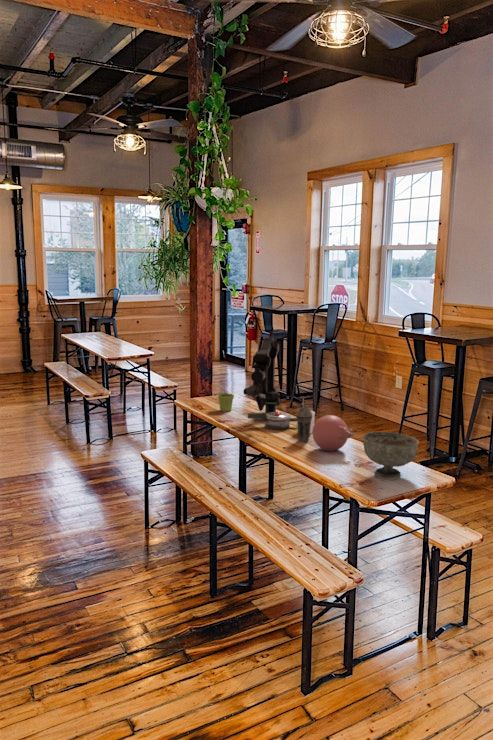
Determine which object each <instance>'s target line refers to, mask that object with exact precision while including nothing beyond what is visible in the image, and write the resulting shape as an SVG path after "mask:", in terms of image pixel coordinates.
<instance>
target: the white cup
mask: <svg viewBox="0 0 493 740" xmlns="http://www.w3.org/2000/svg"><path fill="white" fill-rule="evenodd" d="M310 411H311V413H312V420H311V425H310V433H309V435H311V434H312V431H313V427H314V424H315V417H316V412H315V411H313V410H310Z"/></svg>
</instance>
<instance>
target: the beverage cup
mask: <svg viewBox="0 0 493 740" xmlns="http://www.w3.org/2000/svg"><path fill="white" fill-rule="evenodd" d="M311 411H312V410H310V409H309V408H308V407H305V398H302V407H301V408H299V409H298V410H297V412H296V417H295V418H297V421H296V422H297V424H296V425H297V437H298V442H301V443H307V442H309V439H310V434H309V433H310V425H311V420H312V413H311Z"/></svg>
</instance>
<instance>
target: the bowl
mask: <svg viewBox="0 0 493 740" xmlns="http://www.w3.org/2000/svg"><path fill="white" fill-rule="evenodd" d="M362 438H363V443H362V445H363V448H364V450H363V451H364V454H365V455H366V456H367V457H368V459H369V460H371V462H373V463H375V464H377V465H380V466H383V467H379V468H376V470H375V471H374V476H376V477H377V478H379V479H383V480H392V481H395V480H398V479H399V478H400V477H401V475H402V473H401V471H399V469H396V468H394V467H398V468H399V467H403V466H405V465H408V464H409V463H411V462H413V461H414V460H415V459H416V456H417V451H418V448H419V447H418V446H419V443H420V441H419V440H418V439H417V438H415V437H412V436H410V435H407V434H403V433H398V432H391V431H371V432H368V433H365V434H363V437H362Z"/></svg>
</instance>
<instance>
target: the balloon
mask: <svg viewBox="0 0 493 740" xmlns="http://www.w3.org/2000/svg"><path fill="white" fill-rule="evenodd" d="M351 437H354V431H353V429H351V428H350V429H349V428H348V426H347V424H346V422H345V421H344V420H343V419H342V418H341V417H339V416H336V415H331V414H328V415H327V414H326V415H324V416H323V415H322V417H320V418H319V419H317V420H316V422H314V427H313V431H312V439H313V441H314V443H315V445H316V446H317V447H319V448H320V449H322V450H324V451H327V452H328V451H329V452H335V451H338V450H340V449H341V448H343V446H345V444H346V443H347V442H348V440H349V439H351Z"/></svg>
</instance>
